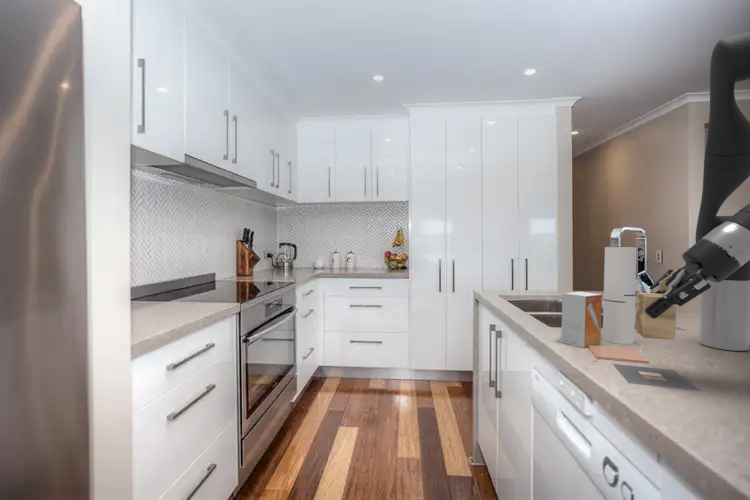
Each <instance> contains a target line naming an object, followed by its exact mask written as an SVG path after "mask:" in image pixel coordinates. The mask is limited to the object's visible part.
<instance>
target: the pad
mask: <svg viewBox="0 0 750 500" xmlns="http://www.w3.org/2000/svg"><path fill="white" fill-rule="evenodd" d="M587 348H588V350H589V351H590V352H591V353H592V354H593V357H595V359H597V360H603V361H604V360H606V361H615V362H627V363H636V364H645V365H646V364H647V365H649V364H650V360H648V359H647V358H646V357H644V355H642V354H641V353H640V352H639V351H637V350H636V349H635V348H623V347H622V348H621V347H611V346H599V345H593V346H591V345H588V347H587Z"/></svg>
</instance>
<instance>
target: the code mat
mask: <svg viewBox="0 0 750 500" xmlns="http://www.w3.org/2000/svg"><path fill="white" fill-rule="evenodd" d="M612 365H613V366H614V368H615V369H616V370H617V371H618V372H619V374H620V375H621V376H622V377H623V378H624V379H625V381H626V382H627V383H628V384H632V385H643V386H644V385H645V386H652V387H659V388H669V389H677V390H678V389H679V390H680V389H681V390H686V391H687V390H689V391H696V392H701V389H699V388H698V387H696V386H695V385H694V384H692V383H691V382H690V381H689V380H688V379H687V378H685V377H684V376H682V375H681V374H680V373H679V372H678V371H676V370H674V369H668V368H659V367H658V368H657V367H647V366H638V365H637V366H636V365H629V364H628V365H627V364H617V363H612Z"/></svg>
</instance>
